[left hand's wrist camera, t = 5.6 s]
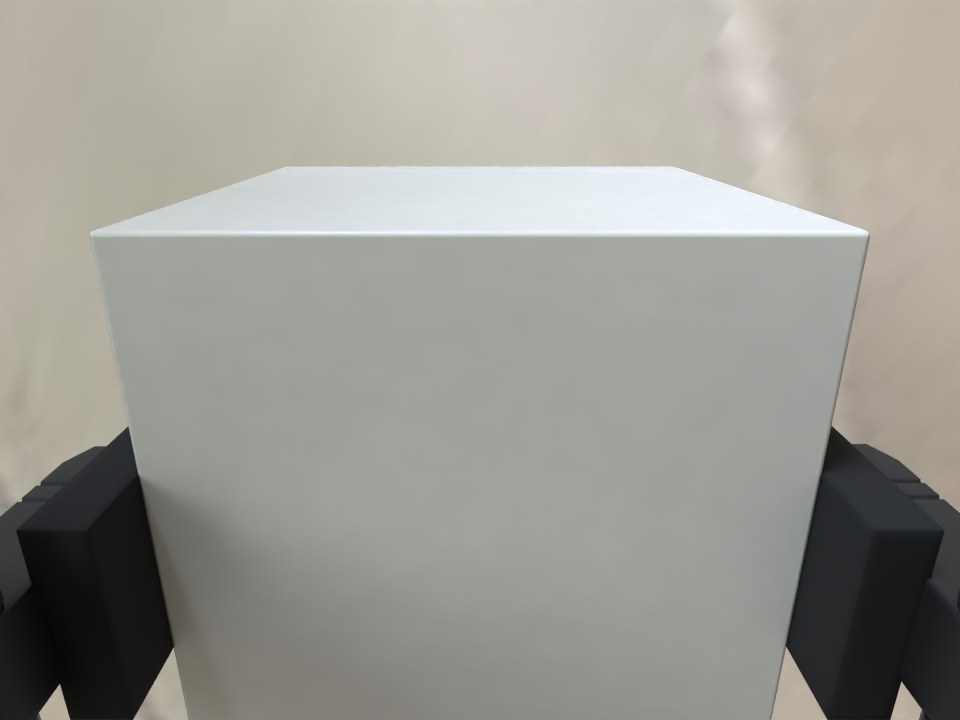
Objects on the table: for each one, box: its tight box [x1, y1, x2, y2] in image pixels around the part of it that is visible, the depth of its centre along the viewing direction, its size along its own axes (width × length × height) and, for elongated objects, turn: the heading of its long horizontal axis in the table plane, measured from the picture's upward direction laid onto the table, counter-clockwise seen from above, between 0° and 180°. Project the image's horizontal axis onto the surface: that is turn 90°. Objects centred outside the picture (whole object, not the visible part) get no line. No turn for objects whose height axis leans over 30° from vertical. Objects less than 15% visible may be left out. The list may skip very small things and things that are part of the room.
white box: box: [90, 167, 870, 720], centre depth 12 cm, size 8×9×8 cm
